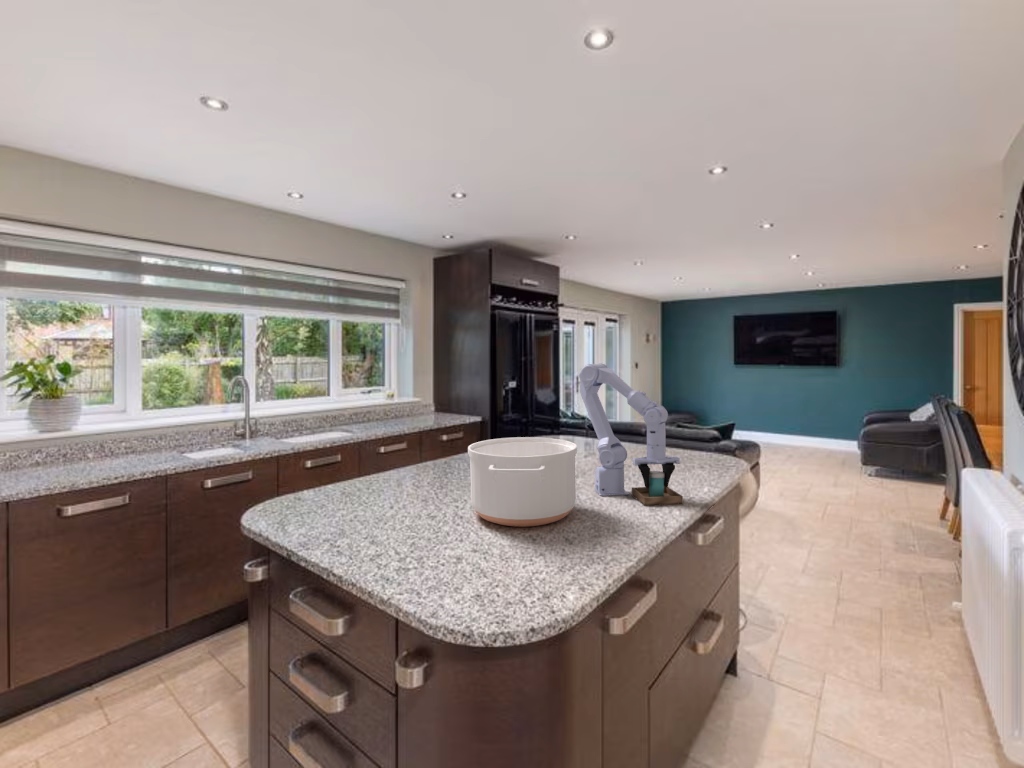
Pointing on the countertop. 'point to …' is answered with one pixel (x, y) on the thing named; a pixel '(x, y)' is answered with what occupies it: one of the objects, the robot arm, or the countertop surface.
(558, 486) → the pot
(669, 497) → the tray
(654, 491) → the shaker
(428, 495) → the countertop surface
